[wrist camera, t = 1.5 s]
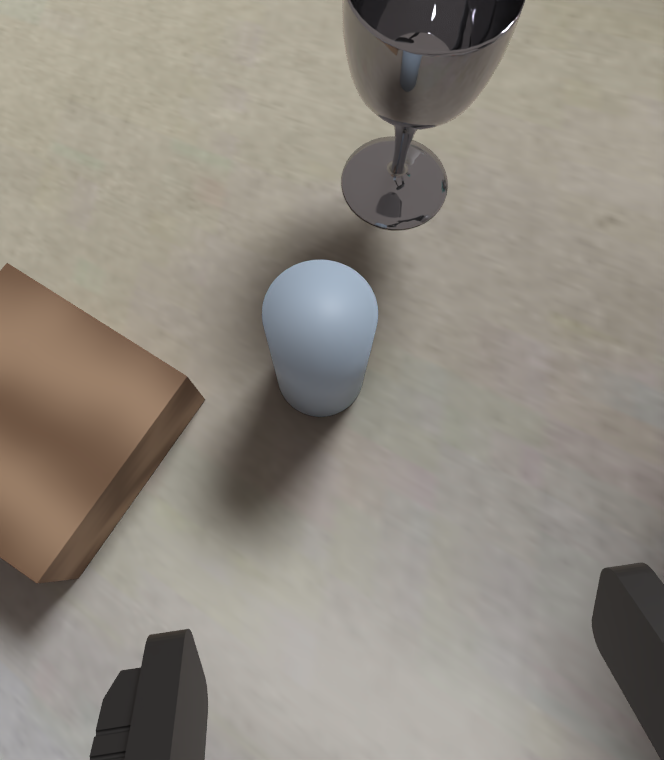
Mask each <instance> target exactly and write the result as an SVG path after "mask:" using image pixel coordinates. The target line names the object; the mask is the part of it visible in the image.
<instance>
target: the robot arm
mask: <svg viewBox="0 0 664 760" xmlns="http://www.w3.org/2000/svg"><path fill="white" fill-rule="evenodd" d="M592 629H593V634H594V638H595V642H596V644H597V647H598V649H599V651H600V653H601V655H602V657H603V659H604V660H605V662H606V664H607V666H608V667H609V669H610V671H611V673H612V674H613V676H614V678H615V680H616V681H617V683H618V685H619V687H620V688H621V690H622V692H623V694H624V695H625V697H626V699H627V701H628V702H629V704H630V706H631V708H632V709H633V711H634V713H635V715H636V716H637V718H638V720H639V722H640V723H641V725H642V727H643V729H644V731H645V732H646V734H647V736H648V738H649V739H650V741H651V743H652V745H653V746H654V748H655V750H656V752H657V753H658V755H659V757H660V759H661V760H664V584H663V583H662V582H661V580H660V579H659V578H658V576H657V575H656V574H655V572H654V571H653V570H652V569H651V568H650V567H649V566H648V565H646V564H645V563H635V564H628V565H622V566H615V567H608V568H604V569H603V570H602V571H601V574H600V579H599V584H598V590H597V595H596V600H595V605H594V611H593V616H592ZM207 717H208V694H207V685H206V679H205V675H204V672H203V668H202V665H201V662H200V658H199V655H198V652H197V648H196V645H195V642H194V639H193V635H192V632H191V630H190V629H185V630H179V631H172V632H165V633H159V634H152V635H149V637H148V638H147V641H146V645H145V650H144V655H143V660H142V666H141V668H135V669H128V670H122V671H120V673H119V674H118V676H117V678H116V679H115V681H114V683H113V684H112V686H111V687H110V689H109V691H108V692H107V694H106V695H105V697H104V699H103V702H102V706H101V710H100V715H99V719H98V723H97V727H96V737H94V740H93V745H92V749H91V753H90V760H204V759H205V745H206V731H207Z"/></svg>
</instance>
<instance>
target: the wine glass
mask: <svg viewBox="0 0 664 760" xmlns="http://www.w3.org/2000/svg"><path fill="white" fill-rule="evenodd" d="M524 3H525V0H342V8H343V36H344V44H345V51H346V56H347V61H348V65H349V69H350V73H351V77H352V80H353V82H354V85H355V87H356V89H357V91H358V94H359V96H360V97H361V99H362V100H363V102H364V103H365V105H366V106H367V107H368V108H369V109H370V110H371V111H372V112H374V113H375V114H376V115H377V116H378V117H380V118H381V119H383V120H384V121H386V122H388V123H390V124H392V125H394V129H395V137H383V138H378V139H375V140H371V141H369V142H367V143H365V144H363V145H362V146H361V147H359V148H358V149H357V150H356V151H355V152H354V153H353V154H352V155H351V156H350V157H349V159H348V160H347V162H346V164H345V167H344V169H343V173H342V190H343V194H344V197H345V199H346V201H347V203H348V204H349V206H350V208H351V209H352V210H353V211H354V212H355V213H356V214H357V215H358V216H359V217H360V218H362V219H363V220H364V221H366V222H368V223H370V224H372V225H374V226H377V227H380V228H385V229H391V230H402V229H409V228H413V227H416V226H419V225H421V224H423V223H425V222H427V221H428V220H429V219H431V218H432V217H433V216H434V215H435V214H436V213H437V212H438V211H439V210H440V208H441V207H442V205H443V203H444V201H445V198H446V195H447V189H448V182H447V176H446V172H445V169H444V167H443V165H442V163H441V161H440V160H439V159H438V157H437V156H436V155H435V154H434V153H433V152H432V151H431V150H430V149H428V148H427V147H426V146H424V145H423V144H421V143H419V142H417V141H414V140H412V139H413V136H414V134H415V132H416V131H417V130H418V129H428V128H433V127H436V126H439V125H442V124H445V123H447V122H449V121H451V120H453V119H455V118H456V117H458V116H459V115H461V114H462V113H463V112H464V111H465V110H466V109H467V108H468V107H469V106H470V105H471V104H472V103H473V102H474V101H475V100H476V99H477V98H478V96H479V95H480V94H481V92H482V91H483V89H484V88H485V87H486V85H487V84H488V82H489V80H490V79H491V77H492V76H493V74H494V72H495V70H496V69H497V67H498V65H499V64H500V62H501V60H502V58H503V57H504V54H505V52H506V50H507V47H508V45H509V43H510V40H511V38H512V36H513V33H514V31H515V28H516V25H517V22H518V20H519V17H520V14H521V11H522V8H523V6H524Z"/></svg>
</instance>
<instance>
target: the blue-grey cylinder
mask: <svg viewBox="0 0 664 760" xmlns="http://www.w3.org/2000/svg"><path fill="white" fill-rule="evenodd" d="M262 321H263V326H264V330H265V334H266V338H267V342H268V345H269V349H270V353H271V357H272V361H273V365H274V368H275V372H276V376H277V380H278V384H279V387H280V390H281V393H282V395H283V396H284V398H285V399H286V401H287V402H288V403H289V404H290V405H291V406H292V407H293V408H295V409H296V410H298V411H300V412H302V413H304V414H307V415H310V416H316V417H325V416H331V415H334V414H337V413H339V412H341V411H343V410H345V409H346V408H347V407H349V406H350V405H351V404H352V403H353V402H354V401H355V399H356V398H357V396H358V394H359V393H360V390H361V387H362V383H363V379H364V375H365V371H366V367H367V363H368V359H369V355H370V351H371V347H372V343H373V339H374V335H375V331H376V327H377V322H378V306H377V301H376V298H375V295H374V293H373V291H372V289H371V287H370V286H369V284H368V283H367V281H366V280H365V279H364V278H363V277H362V276H361V275H360V274H359V273H358V272H356V271H355V270H353V269H352V268H350V267H348V266H346V265H344V264H341V263H339V262H335V261H330V260H310V261H305V262H301V263H299V264H296V265H294V266H292V267H290V268H288V269H287V270H285V271H284V272H282V273H281V274H280V275H279V276H278V277H277V278H276V279H275V280H274V281H273V283H272V284H271V286H270V287H269V289H268V291H267V293H266V295H265V298H264V301H263V307H262Z"/></svg>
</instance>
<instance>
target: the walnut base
mask: <svg viewBox="0 0 664 760" xmlns="http://www.w3.org/2000/svg"><path fill="white" fill-rule="evenodd" d="M204 400H205V399H204V397H203V396H202V395H201V394H200V392H199V391H198V390H197V388H196V387H195V386H194V385H193V383H192V382H191V381H190V379H189V378H188V377H187V376H186V375H184V374H183V373H181V372H179V371H178V370H176V369H175V368H173V367H171V366H170V365H168V364H167V363H165V362H163V361H162V360H160V359H159V358H157V357H156V356H154V355H152V354H151V353H149V352H148V351H146V350H144V349H143V348H141V347H140V346H138V345H137V344H135V343H133V342H132V341H130V340H129V339H127V338H125V337H124V336H122V335H121V334H119V333H117V332H116V331H114V330H113V329H111V328H110V327H108V326H106V325H105V324H103V323H102V322H100V321H98V320H97V319H95V318H94V317H92V316H91V315H89V314H87V313H86V312H84V311H83V310H81V309H79V308H78V307H76V306H75V305H73V304H71V303H70V302H68V301H67V300H65V299H64V298H62V297H60V296H59V295H57V294H56V293H54V292H52V291H51V290H49V289H48V288H46V287H45V286H43V285H41V284H40V283H38V282H37V281H35V280H33V279H32V278H30V277H29V276H27V275H25V274H24V273H22V272H21V271H19V270H18V269H16V268H14V267H13V266H11V265H10V264H8V263H7V264H6V265H5V266H4V267H3V268H2V270H1V271H0V558H2V559H3V560H5V561H6V562H7V563H9V564H10V565H12V566H13V567H14V568H16V569H17V570H19V571H20V572H21V573H23V574H24V575H26V576H27V577H28V578H30V579H31V580H33V581H34V582H35V583H46V582H54V581H62V580H71V579H78V578H79V577H80V576H81V574H82V573H83V571H84V570H85V568H86V567H87V566H88V564H89V563H90V561H91V560H92V559H93V557H94V556H95V554H96V553H97V552H98V550H99V549H100V547H101V546H102V544H103V543H104V542H105V540H106V539H107V537H108V536H109V535H110V533H111V532H112V530H113V529H114V528H115V526H116V525H117V523H118V522H119V520H120V519H121V518H122V516H123V515H124V513H125V512H126V511H127V509H128V508H129V506H130V505H131V504H132V502H133V501H134V499H135V498H136V496H137V495H138V494H139V492H140V491H141V489H142V488H143V487H144V485H145V484H146V482H147V481H148V480H149V478H150V477H151V475H152V474H153V472H154V471H155V470H156V468H157V467H158V465H159V464H160V463H161V461H162V460H163V458H164V457H165V456H166V454H167V453H168V451H169V450H170V448H171V447H172V446H173V444H174V443H175V441H176V440H177V439H178V437H179V436H180V434H181V433H182V432H183V430H184V429H185V427H186V426H187V424H188V423H189V422H190V420H191V419H192V417H193V416H194V415H195V413H196V412H197V410H198V409H199V408H200V406H201V405H202V403H203V402H204Z"/></svg>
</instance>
